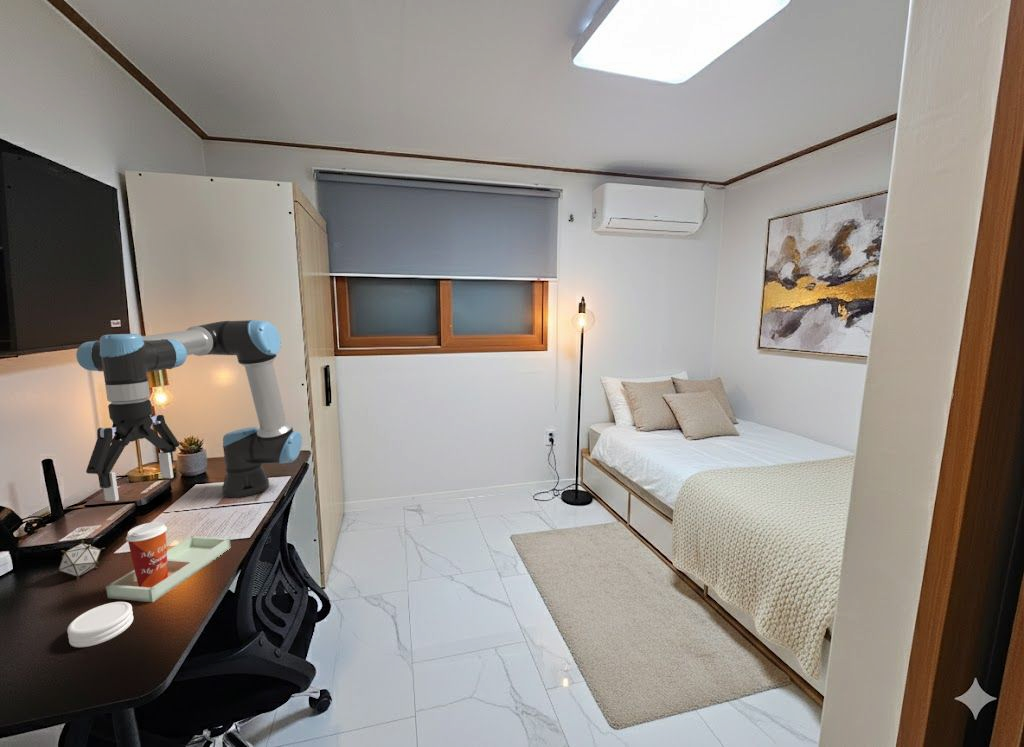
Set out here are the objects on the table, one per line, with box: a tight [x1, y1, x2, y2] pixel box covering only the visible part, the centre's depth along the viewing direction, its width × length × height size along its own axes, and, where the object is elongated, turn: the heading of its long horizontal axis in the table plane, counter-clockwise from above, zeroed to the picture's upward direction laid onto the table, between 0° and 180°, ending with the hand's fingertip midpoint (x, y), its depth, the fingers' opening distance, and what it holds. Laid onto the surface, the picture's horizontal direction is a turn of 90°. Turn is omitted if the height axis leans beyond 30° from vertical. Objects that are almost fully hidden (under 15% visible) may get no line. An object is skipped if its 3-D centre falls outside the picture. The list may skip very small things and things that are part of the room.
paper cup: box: [125, 521, 168, 588], centre depth 107 cm, size 8×8×14 cm
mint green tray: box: [105, 535, 232, 603], centre depth 113 cm, size 23×12×3 cm, turn 172°
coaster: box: [66, 601, 134, 648], centre depth 92 cm, size 10×10×4 cm
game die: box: [54, 539, 105, 581], centre depth 112 cm, size 9×8×10 cm
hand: (141, 488), depth 105 cm, fingers open, 13 cm apart
